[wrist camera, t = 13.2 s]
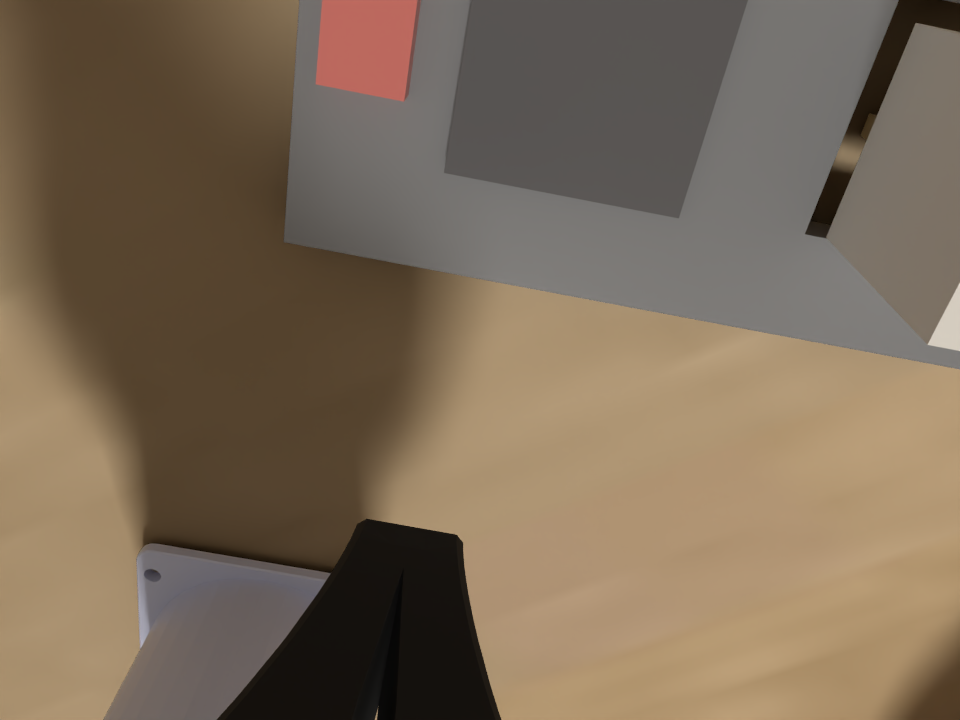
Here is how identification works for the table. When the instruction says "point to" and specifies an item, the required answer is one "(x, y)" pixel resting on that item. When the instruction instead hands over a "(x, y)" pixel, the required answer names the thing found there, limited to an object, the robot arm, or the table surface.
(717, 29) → the socket strip
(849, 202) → the plug
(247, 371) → the table surface
